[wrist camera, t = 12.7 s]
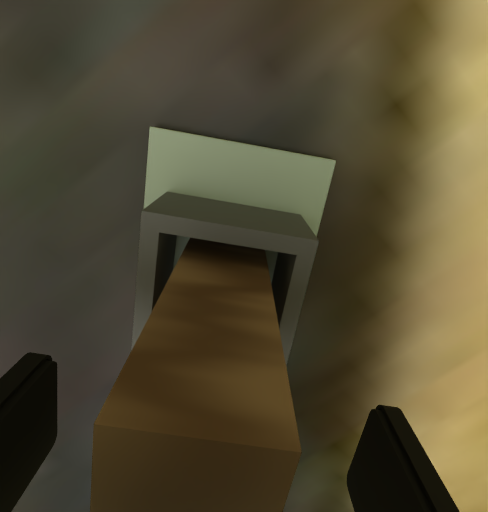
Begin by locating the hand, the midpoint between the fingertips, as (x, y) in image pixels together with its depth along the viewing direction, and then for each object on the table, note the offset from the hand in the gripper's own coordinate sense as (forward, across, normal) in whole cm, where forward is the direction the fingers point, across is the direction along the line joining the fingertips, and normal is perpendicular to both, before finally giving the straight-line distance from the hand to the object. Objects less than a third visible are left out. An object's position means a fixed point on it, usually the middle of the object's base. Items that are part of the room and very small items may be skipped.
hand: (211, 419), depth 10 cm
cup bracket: (+12, 0, +1) cm, 12 cm away
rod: (+11, 0, -1) cm, 11 cm away
